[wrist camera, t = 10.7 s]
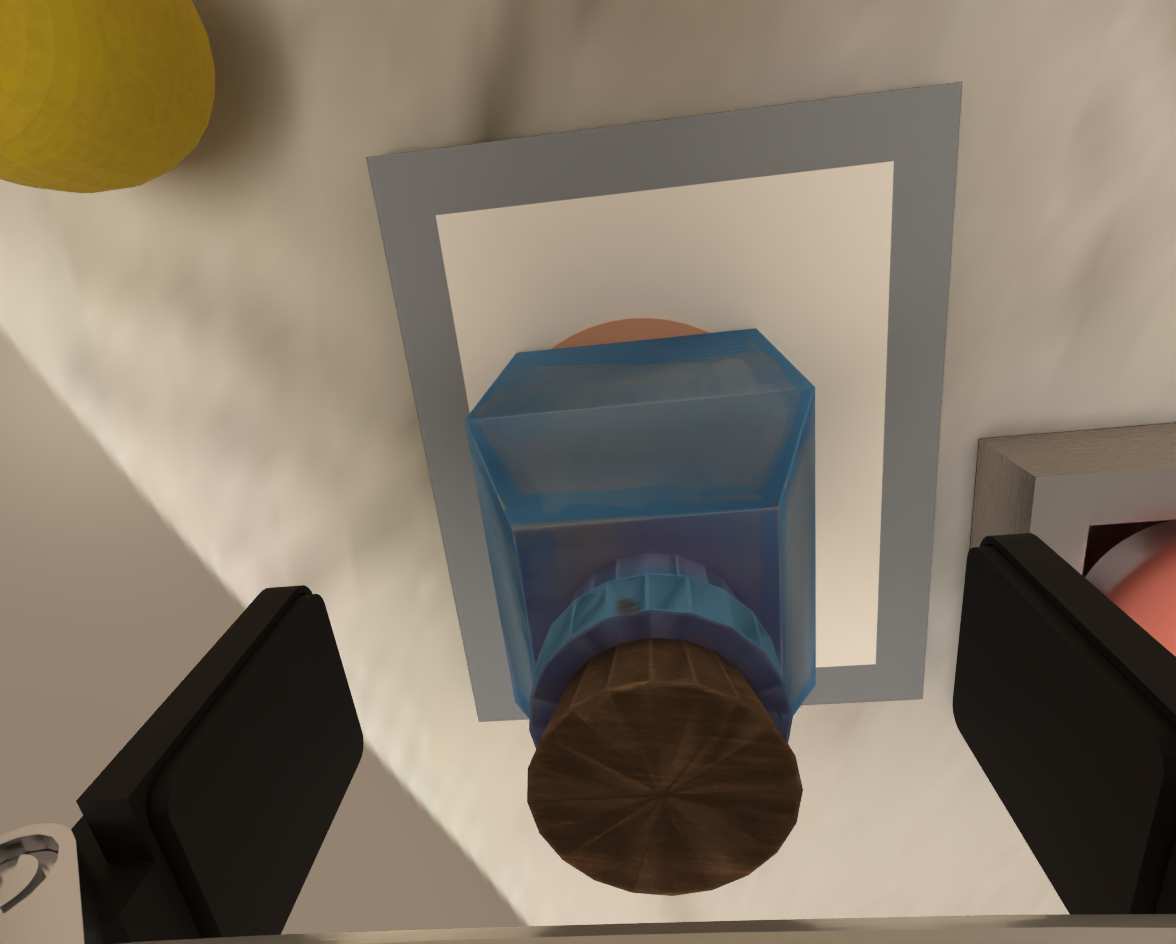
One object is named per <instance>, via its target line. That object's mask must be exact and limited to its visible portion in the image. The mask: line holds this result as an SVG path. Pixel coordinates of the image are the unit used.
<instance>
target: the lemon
mask: <svg viewBox="0 0 1176 944" xmlns="http://www.w3.org/2000/svg"><path fill="white" fill-rule="evenodd" d="M214 99H215V65H214V61H213V56H212V52H211V47H210V43H209V38H208V34H207V32H206V30H205V28H204V25H203V23H202V21H201V19H200V16H199V14H198V12H197V10H196V7H195V5H194V3H193V1H192V0H0V179H2V180H5V181H9V182H12V183H16V184H20V185H25V186H30V187H35V188H43V189H51V190H59V191H67V192H77V193H95V192H102V191H109V190H116V189H122V188H129V187H135V186H138V185H142V184H144V183H146V182H148V181H150V180H152V179H154V178H156V177H158V176H160V175H162V174H164V173H166V172H168V171H170V170H172V169H174V168H175V167H176V166H177V165H178V164H179V163H180V162H181V161H182V160H183V159H184V158H185V157H186V156H187V155H188V154H189V153H190V152H191V151H192V150H193V149H194V148H195V147H196V146H197V144H198V143H199V141H200V139H201V137H202V135H203V133H204V132H205V130H206V128H207V126H208V124H209V120H210V116H211V112H212V108H213V104H214Z"/></svg>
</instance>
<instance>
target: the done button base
mask: <svg viewBox="0 0 1176 944" xmlns="http://www.w3.org/2000/svg"><path fill="white" fill-rule="evenodd" d="M1172 520H1176V423H1168V424H1155V425H1143V426H1131V427H1119V428H1107V429H1095V430H1083V431H1071V432H1059V433H1047V434H1035V435H1023V436H1011V437H999V438H987V439H979V449H978V461H977V472H976V484H975V496H974V508H973V519H972V531H971V543H970V549H971V548H973V547H980V544H981V542H982V540H983V538H985V537H986V536H993V535H1007V534H1021V533H1033V534H1034V535H1036V536H1038V537H1039V538H1040V539H1041V540H1042V541H1043V542H1044V543H1046V544H1047V545H1048V546H1049V547H1050V548H1051V549H1052V550H1054V551H1055V552H1056V553H1057V554H1058V555H1059V556H1061V557H1062V558H1063V559H1064V560H1065V561H1066V562H1067V563H1069V564H1070V565H1071V566H1072V567H1073V568H1074V569H1075V570H1077V571H1078V572H1079V573H1080V574H1081V575H1082V576H1083V577H1086V575H1087V574H1088V572H1089V571H1090V570H1091V568H1092V567H1093V566H1094V565H1095V564H1096V563H1097V562H1098V561H1099V559H1100V558H1101V557H1103V556H1104V555H1105V554H1106V553H1107V552H1108V551H1109V550H1110V549H1112V548H1113V547H1114V546H1116V545H1117V544H1119V543H1120V542H1121V541H1123V540H1125V539H1126V538H1128V537H1130V536H1132V535H1133V534H1135V533H1137V532H1139V531H1142V530H1144V529H1146V528H1148V527H1151V526H1154V525H1157V524H1160V523H1163V522H1168V521H1172Z"/></svg>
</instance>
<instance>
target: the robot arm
mask: <svg viewBox="0 0 1176 944" xmlns="http://www.w3.org/2000/svg"><path fill="white" fill-rule="evenodd" d="M953 713H954V717H955V721H956V724H957V727H958V729H959V731H960V733H961V734H962V736H963V738H964V739H965V741H966V743H967V744H968V746H969V748H970V749H971V751H972V752H973V754H974V756H975V757H976V759H977V761H978V762H979V764H980V766H981V767H982V769H983V771H984V772H985V774H986V776H987V777H988V779H989V781H990V782H991V784H992V786H993V787H994V789H995V791H996V792H997V794H998V796H999V797H1000V799H1001V801H1002V802H1003V804H1004V806H1005V807H1006V809H1007V811H1008V812H1009V814H1010V816H1011V817H1012V819H1013V821H1014V822H1015V824H1016V826H1017V827H1018V829H1019V830H1020V832H1021V834H1022V835H1023V837H1024V839H1025V840H1026V842H1027V844H1028V845H1029V847H1030V849H1031V850H1032V852H1033V854H1034V855H1035V857H1036V859H1037V860H1038V862H1039V864H1040V865H1041V867H1042V869H1043V870H1044V872H1045V874H1046V875H1047V877H1048V879H1049V880H1050V882H1051V884H1052V885H1053V887H1054V889H1055V890H1056V892H1057V894H1058V895H1059V897H1060V899H1061V900H1062V902H1063V904H1064V905H1065V907H1066V908H1067V910H1068V912H1069V913H1070V915H981V916H935V917H888V918H842V919H795V920H751V921H714V922H676V923H638V924H602V925H567V926H531V927H496V928H468V929H467V928H466V929H435V930H409V931H408V930H405V931H377V932H349V933H348V932H347V933H316V934H286V935H281V932H282V930H283V928H284V926H285V924H286V921H287V919H288V917H289V915H290V913H291V911H292V908H293V906H294V904H295V902H296V899H297V897H298V895H299V893H300V891H301V889H302V886H303V884H304V882H305V880H306V878H307V876H308V873H309V871H310V869H311V867H312V865H313V863H314V860H315V858H316V856H317V854H318V852H319V849H320V847H321V845H322V843H323V841H324V839H325V836H326V834H327V831H328V830H329V828H330V825H331V823H332V821H333V819H334V817H335V814H336V812H337V810H338V808H339V806H340V803H341V801H342V799H343V797H344V795H345V793H346V790H347V788H348V786H349V784H350V782H351V779H352V777H353V775H354V773H355V771H356V769H357V766H358V764H359V762H360V759H361V757H362V752H363V734H362V730H361V727H360V723H359V720H358V716H357V713H356V709H355V706H354V703H353V699H352V696H351V692H350V689H349V685H348V682H347V679H346V675H345V672H344V668H343V665H342V661H341V658H340V655H339V651H338V648H337V644H336V641H335V637H334V634H333V631H332V627H331V624H330V620H329V617H328V613H327V610H326V607H325V603H324V601H323V599H322V597H321V596H320V595H318V594H312V592H311V590H310V589H309V588H308V587H306V586H304V585H303V586H289V587H275V588H266V589H264V590H263V591H262V592H261V593H260V594H259V595H258V596H257V597H256V598H255V599H254V601H253V602H252V603H251V604H250V605H249V606H248V607H247V609H246V610H245V611H244V612H243V613H242V614H241V615H240V616H239V618H238V619H237V620H236V621H235V622H234V623H233V624H232V625H231V627H230V628H229V629H228V630H227V631H226V632H225V634H224V635H223V636H222V637H221V638H220V639H219V640H218V641H217V642H216V644H215V645H214V646H213V647H212V648H211V649H210V650H209V651H208V653H207V654H206V655H205V656H204V657H203V658H202V659H201V661H200V662H199V663H198V664H197V665H196V666H195V667H194V669H193V670H192V671H191V672H190V673H189V674H188V675H187V676H186V677H185V679H184V680H183V681H182V682H181V683H180V684H179V686H178V687H177V688H176V689H175V690H174V691H173V692H172V693H171V694H170V696H169V697H168V698H167V699H166V700H165V701H164V702H163V703H162V705H161V706H160V707H159V708H158V709H157V710H156V711H155V713H154V714H153V715H152V716H151V717H150V718H149V719H148V720H147V722H146V723H145V724H144V725H143V726H142V727H141V728H140V730H139V731H138V732H137V733H136V734H135V735H134V736H133V737H132V739H131V740H130V741H129V742H128V743H127V744H126V745H125V746H124V748H123V749H122V750H121V751H120V752H119V753H118V754H117V755H116V757H115V758H114V759H113V760H112V761H111V762H110V763H109V765H108V766H107V767H106V768H105V769H104V770H103V771H102V772H101V774H100V775H99V776H98V777H97V778H96V779H95V780H94V781H93V783H92V784H91V785H90V786H89V787H88V788H87V789H86V791H85V792H84V793H83V794H82V795H81V796H80V797H79V798H78V800H77V801H76V802H77V804H78V805H79V808H80V809H81V811H82V813H83V817H82V818H81V819H80V820H79V821H78V822H77V823H76V825H75V826H74V827H73V828H72V829H69V828H67V827H65V826H63V825H61V824H55V823H53V824H52V823H40V824H35V825H31V826H26V827H21V828H19V829H16V830H14V831H11V832H9V833H6V834H3V835H1V836H0V944H1176V657H1175V656H1174V655H1173V654H1172V653H1171V652H1170V651H1168V650H1167V649H1166V648H1165V647H1164V646H1163V645H1162V644H1160V643H1159V642H1158V641H1157V640H1156V639H1155V638H1154V637H1152V636H1151V635H1150V634H1149V633H1148V632H1147V631H1145V630H1144V629H1143V628H1142V627H1141V626H1140V625H1139V624H1137V623H1136V622H1135V621H1134V620H1133V619H1132V618H1131V617H1129V616H1128V615H1127V614H1126V613H1125V612H1124V611H1123V610H1121V609H1120V608H1119V607H1118V606H1117V605H1116V604H1114V603H1113V602H1112V601H1111V600H1110V599H1109V598H1108V597H1106V596H1105V595H1104V594H1103V593H1102V592H1101V591H1100V590H1098V589H1097V588H1096V587H1095V586H1094V585H1093V584H1092V583H1090V582H1089V581H1088V580H1087V579H1086V578H1085V577H1083V576H1082V575H1081V574H1080V573H1079V572H1078V571H1077V570H1075V569H1074V568H1073V567H1072V566H1071V565H1070V564H1069V563H1067V562H1066V561H1065V560H1064V559H1063V558H1062V557H1061V556H1059V555H1058V554H1057V553H1056V552H1055V551H1054V550H1052V549H1051V548H1050V547H1049V546H1048V545H1047V544H1046V543H1044V542H1043V541H1042V540H1041V539H1040V538H1039V537H1038V536H1036V535H1034V534H1033V533H1021V534H1007V535H993V536H986V537H985V538H983V540H982V542H981V544H980V547H973V548H971V549H970V551H969V553H968V557H967V564H966V574H965V584H964V594H963V604H962V614H961V624H960V634H959V644H958V654H957V664H956V674H955V684H954V694H953Z"/></svg>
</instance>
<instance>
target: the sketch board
mask: <svg viewBox="0 0 1176 944" xmlns="http://www.w3.org/2000/svg"><path fill="white" fill-rule="evenodd" d="M961 95H962V82H955V83H947V84H939V85H932V86H924V87H916V88H908V89H900V90H892V91H884V92H877V93H869V94H861V95H853V96H845V97H837V98H829V99H821V100H814V101H806V102H798V103H790V104H782V105H774V106H766V107H759V108H751V109H743V110H735V111H727V112H719V113H711V114H704V115H696V116H688V117H680V118H672V119H664V120H656V121H649V122H641V123H633V124H625V125H617V126H609V127H601V128H594V129H586V130H578V131H570V132H562V133H554V134H546V135H538V136H531V137H523V138H515V139H507V140H499V141H491V142H483V143H476V144H468V145H460V146H452V147H444V148H436V149H428V150H421V151H413V152H405V153H397V154H389V155H381V156H373V157H366V159H367V164H368V169H369V174H370V179H371V184H372V189H373V194H374V199H375V204H376V209H377V214H378V219H379V224H380V229H381V234H382V239H383V244H384V249H385V254H386V259H387V264H388V269H389V274H390V279H391V284H392V289H393V294H394V299H395V304H396V309H397V314H398V319H399V324H400V329H401V334H402V339H403V344H404V349H405V354H406V359H407V364H408V369H409V374H410V379H411V384H412V389H413V394H414V399H415V404H416V409H417V414H418V419H419V424H420V429H421V434H422V439H423V444H424V449H425V454H426V459H427V464H428V469H429V474H430V479H431V484H432V489H433V494H434V499H435V504H436V509H437V514H438V519H439V524H440V529H441V534H442V539H443V544H444V549H445V555H446V560H447V565H448V570H449V575H450V580H451V585H452V590H453V595H454V600H455V605H456V610H457V615H458V620H459V625H460V630H461V635H462V640H463V645H464V650H465V655H466V660H467V665H468V670H469V675H470V680H471V685H472V690H473V695H474V700H475V705H476V710H477V715H478V720H479V722H485V721H505V720H524V719H529V718H528V717H527V716H526V715H525V713H524V712H523V711H522V710H521V709H520V707H519V706H518V705H517V704H516V703H515V699H514V693H513V688H512V682H511V677H510V671H509V666H508V660H507V654H506V649H505V643H504V638H503V632H502V627H501V621H500V615H499V610H498V604H497V599H496V593H495V588H494V582H493V576H492V571H491V565H490V560H489V554H488V549H487V543H486V537H485V532H484V526H483V521H482V515H481V510H480V504H479V498H478V493H477V487H476V482H475V476H474V471H473V465H472V459H471V454H470V448H469V443H468V437H467V432H466V426H465V419H466V418H467V416H468V415H469V414H470V412H471V411H472V410H473V408H474V407H475V406H476V405H477V403H478V402H479V401H480V399H481V398H482V397H483V395H484V394H485V393H486V392H487V390H488V389H489V388H490V386H491V385H492V384H493V382H494V381H495V380H496V379H497V377H498V376H499V375H500V373H501V372H502V371H503V369H504V368H505V367H506V366H507V364H508V363H509V362H510V360H511V359H512V358H513V357H514V355H515V354H516V353H520V352H530V351H540V350H549V349H559V348H569V347H579V346H589V345H598V344H608V343H618V342H628V341H637V340H647V339H657V338H667V337H677V336H686V335H696V334H706V333H716V332H725V331H735V330H745V329H755V328H757V329H758V330H759V331H760V332H761V333H762V334H763V335H764V336H765V337H766V338H767V339H768V340H769V341H770V342H771V343H772V344H773V345H774V346H775V347H776V348H777V349H778V350H779V351H780V352H781V353H782V354H783V355H784V356H785V357H786V358H787V359H788V360H789V361H790V362H791V363H792V364H793V365H794V366H795V367H796V368H797V369H798V370H799V371H800V372H801V373H802V374H803V375H804V376H805V377H806V378H807V379H808V380H809V381H810V382H811V383H812V384H813V385H814V386H815V524H816V686H815V687H814V688H813V690H812V691H811V692H810V694H809V695H808V696H807V698H806V699H805V700H804V702H803V703H802V705H816V704H836V703H855V702H875V701H894V700H914V699H923V685H924V669H925V654H926V638H927V623H928V607H929V592H930V576H931V561H932V545H933V530H934V514H935V499H936V483H937V468H938V452H939V437H940V421H941V405H942V390H943V374H944V359H945V343H946V328H947V312H948V297H949V281H950V266H951V250H952V235H953V219H954V204H955V188H956V172H957V157H958V141H959V126H960V110H961Z"/></svg>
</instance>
